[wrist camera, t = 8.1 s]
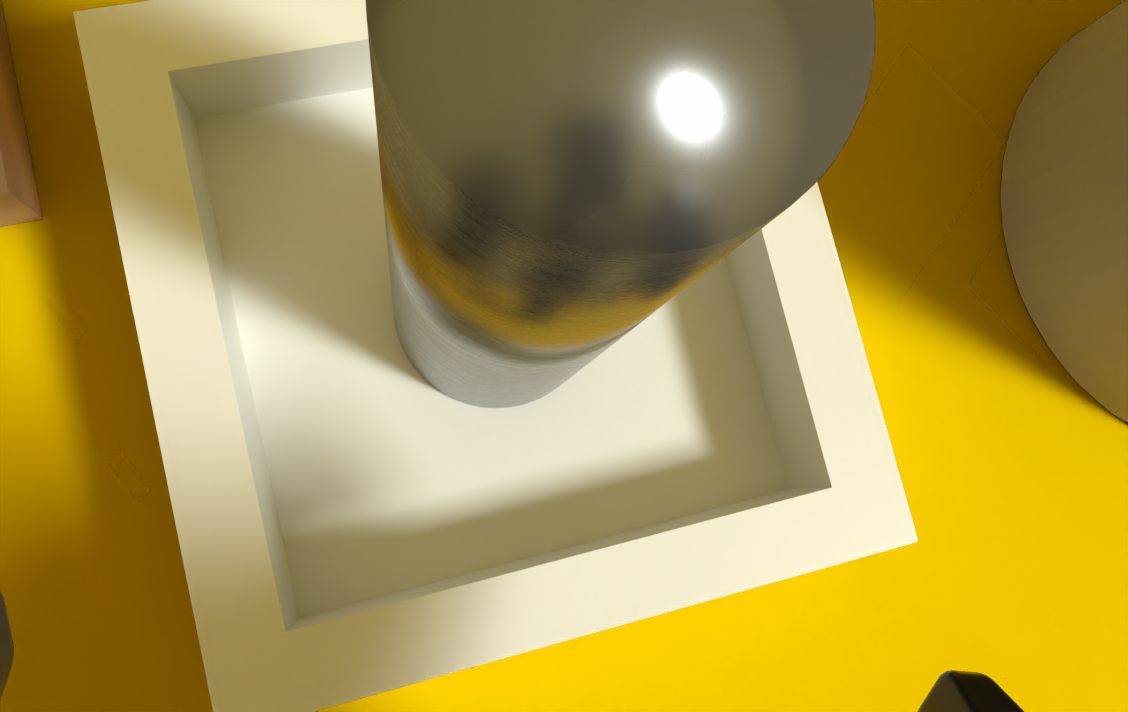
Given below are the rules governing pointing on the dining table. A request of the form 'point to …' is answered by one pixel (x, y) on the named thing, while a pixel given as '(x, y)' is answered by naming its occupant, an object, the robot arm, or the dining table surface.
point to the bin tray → (425, 415)
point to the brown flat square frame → (14, 147)
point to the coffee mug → (1075, 206)
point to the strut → (589, 164)
